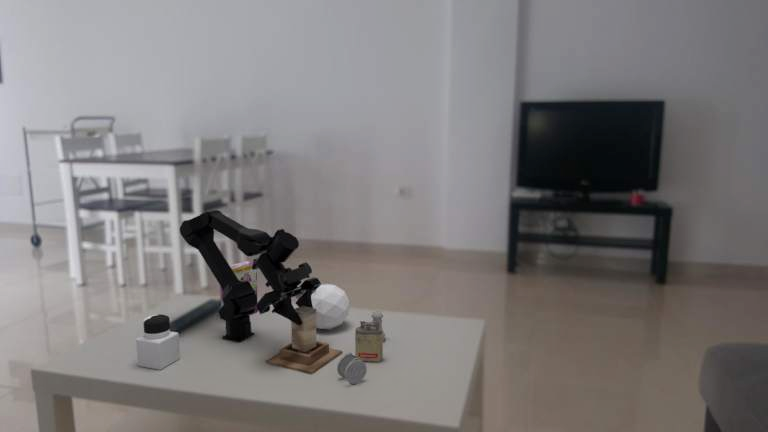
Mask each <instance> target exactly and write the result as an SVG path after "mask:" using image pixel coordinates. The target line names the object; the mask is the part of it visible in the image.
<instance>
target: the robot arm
mask: <svg viewBox="0 0 768 432" xmlns="http://www.w3.org/2000/svg"><path fill="white" fill-rule="evenodd" d="M215 231H216V232H218V233H220V234H221V235H223V236H225V237H227V238H228V239H230V240H231V241H233V242H234V243H235V244H236V247H237V249H238V250H239V251H240V252H241V253H243V255H245V256H247V257H254V256H257V255H259V257H257V258H253V260H252V261H253V265H252V269H253V270H255V269H257V270H258V269H259V270H260V272H261V273H262V275H263V277H264V279H265V280H266V281H267V282H266V283H265V287H266V288H270V287H271V289H272V290H271V291H268V292H265V293H263V295H262V296H261V298H260V299H259V300H258V295H257V296H256V294H255V292H256V291H255V290H254V289H253V288H252V286H251V284H250V283H249V282H248V281H245V282H241V281H239V280H238V278H237V277H236V275H235V274H234V272H233V270H232V269H231V267H230V266H229V265H230V264H229V262H228V261H227V259H226V258H225V256H224V254H223V253H222V252H221V249H220V248H219V247H218V245H217V244H216V241H215V240H214V239H215ZM179 233H180V235H181V237H182V239H183V240H184V241H185V242H186V244H187V245H188V246H191V247H192V248H195V250H198V252H199V253H200V255H201V256H202V258H203V260H204V262H205V263H206V265H207V266H208V268H209V269H210V271H211V273H212V275H213V276H214V278H215V279H216V281H217V283H218V284H219V287H220V286H221V287H222V289H223V302H224V305H223V306H222V308H221V307H220V309H219V310H218V316H219V318H220V319H221V320H223V321H225V335H222V337H221V338H222V339H224V340H228V341H230V342H231V341H232V342H237V343H242V342H243V341H245V340H246V339H249V338H250V337H252V336H255V332H252V322H251V318H250V315H253V314H255V313H254V312H255V308H256V304H257V310H258V313H259V314H260V315H262V314H265V313H268V312H269V311H270V310H271V305H272V307H273V309H272V310H271V313H272V314H274V313H275V314H277V315H280V316H281V317H283V318H286V319H287V320H289V321H290V322H291V321H292V322H294V323H296V324H297V325H299V326H300V325H301V324H302V321H301V319H300V317H299V315H298V314H297V312H296V310H295V309H296V308H295V307H294V306H293V304H292V298H293V297H295V298H296V299H297V300H296V302H295V304H296V306H297V307H301V306H306V307H310V308H313V306H312V301H311V295H312V294H313V293H314V292H315V291H316V289H317V288H318V287H319V286H320V285H321V283H322V282H321V281H320V280H319V278H318V277H314V276H313V277H311V275H312V272H313V270H312V268H311V265H310V264H309V262H307V261H306V262H302V263H301V264H298V267H297V268H294V269H292V268H291V267H287V268H286V266H285V265H284V264H283V263H285V262H287V261H288V260H289V258H291V256H292V255H293V254H294V252H295V251H296V250H297V249H298V247H299V246H300V245H299V244H300V243H299V240H298V238H297V237H296V236H294V235H293V234H291V233H290V232H287V231H285V229H284V228H281V229H277V230H276V231H275V233H274V234H273V236H271V235H270V234H269V233H268V232H266V231H264V230H260V229H256V228H249V227H247V226H244V225H242V224H241V223H239V222H237V221H235V220H234V219H233V218H230V217H229V216H227V215H225V214H223V213H222V211H221V210H217V209H213V210H207V211H204V212H201V214H199V215H196V216H195V217H193V218H191V219H187V220H184V221H182V222H181V225H180V226H179ZM310 274H311V275H310ZM304 279H305V280H304ZM303 280H304V281H303ZM302 281H303V282H302ZM299 285H300V286H299Z"/></svg>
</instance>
